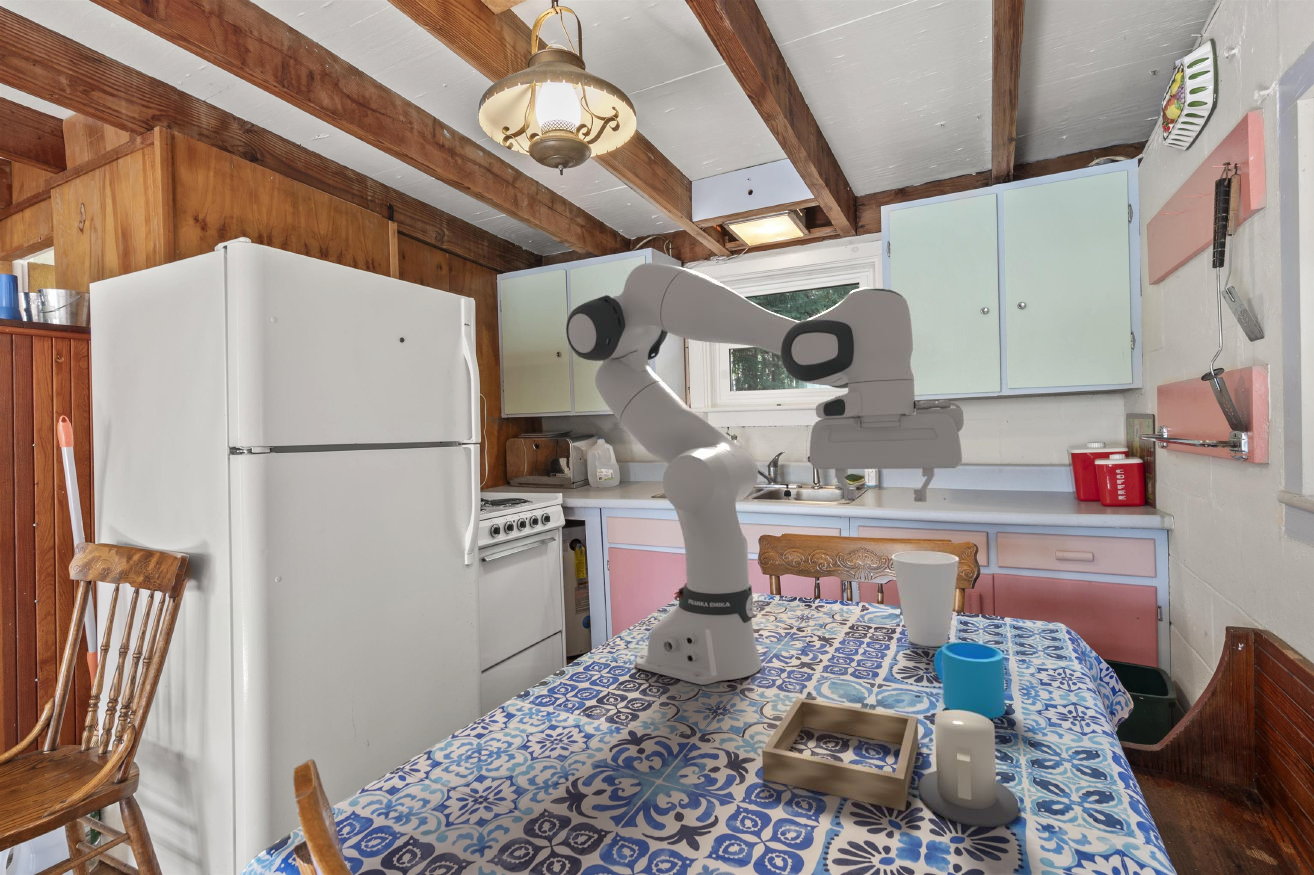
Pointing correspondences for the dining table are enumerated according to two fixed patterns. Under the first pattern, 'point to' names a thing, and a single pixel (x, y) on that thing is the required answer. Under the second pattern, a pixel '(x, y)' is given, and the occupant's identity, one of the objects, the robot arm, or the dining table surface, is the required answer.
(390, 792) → the dining table surface
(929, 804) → the grey oval disc
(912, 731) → the holder
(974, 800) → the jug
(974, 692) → the mug
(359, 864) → the dining table surface
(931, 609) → the cup
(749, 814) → the dining table surface
